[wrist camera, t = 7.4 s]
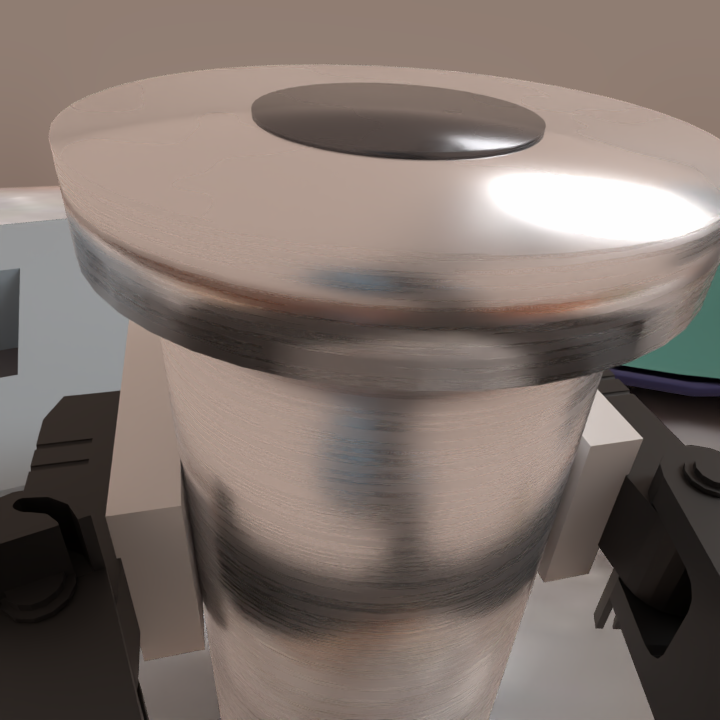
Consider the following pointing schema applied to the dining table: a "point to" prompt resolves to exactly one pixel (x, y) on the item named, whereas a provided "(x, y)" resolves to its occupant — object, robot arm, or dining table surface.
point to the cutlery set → (683, 356)
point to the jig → (48, 338)
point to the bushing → (381, 346)
